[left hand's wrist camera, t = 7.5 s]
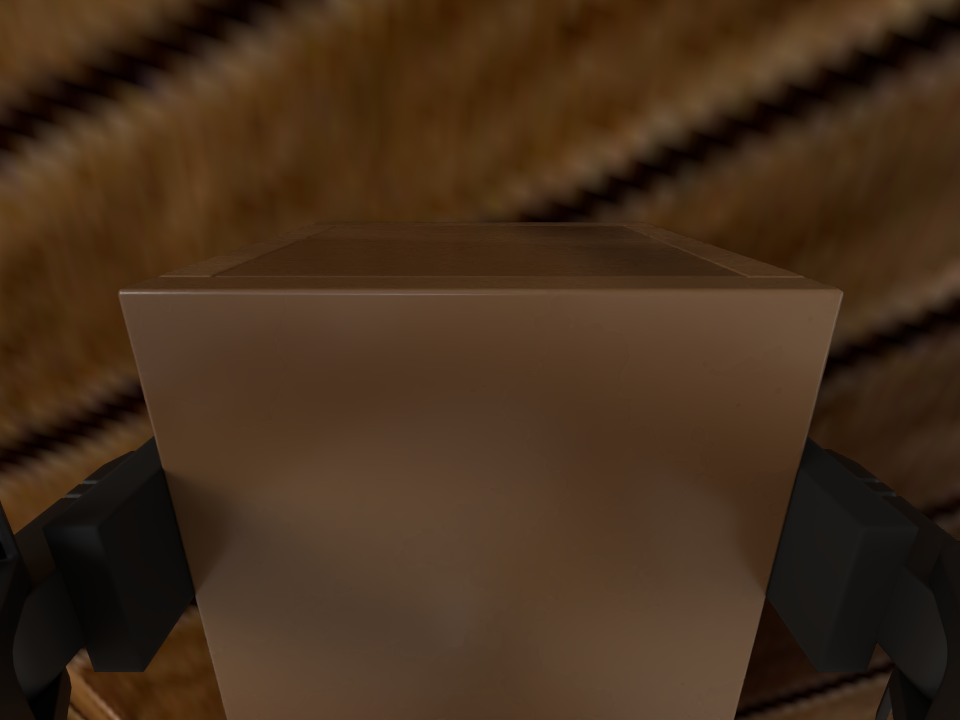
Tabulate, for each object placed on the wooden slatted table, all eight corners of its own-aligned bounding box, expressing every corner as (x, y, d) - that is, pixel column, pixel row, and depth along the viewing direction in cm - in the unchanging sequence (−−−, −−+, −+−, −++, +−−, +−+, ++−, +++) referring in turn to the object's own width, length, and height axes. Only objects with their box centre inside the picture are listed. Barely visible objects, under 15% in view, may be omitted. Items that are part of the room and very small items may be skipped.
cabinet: (591, 700, 24) (657, 1019, 15) (369, 699, 24) (302, 1017, 15) (645, 222, 16) (848, 289, 7) (316, 222, 16) (112, 289, 7)
